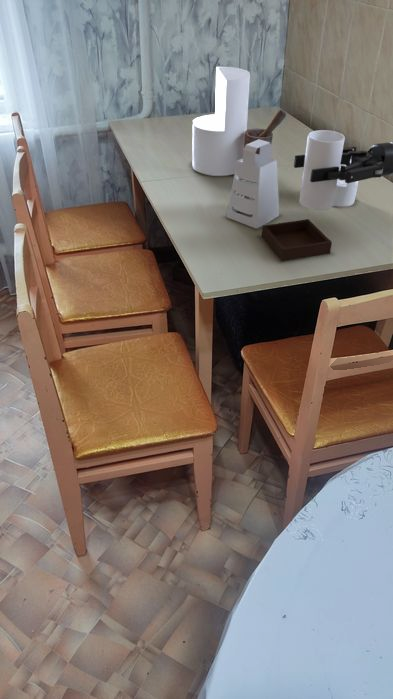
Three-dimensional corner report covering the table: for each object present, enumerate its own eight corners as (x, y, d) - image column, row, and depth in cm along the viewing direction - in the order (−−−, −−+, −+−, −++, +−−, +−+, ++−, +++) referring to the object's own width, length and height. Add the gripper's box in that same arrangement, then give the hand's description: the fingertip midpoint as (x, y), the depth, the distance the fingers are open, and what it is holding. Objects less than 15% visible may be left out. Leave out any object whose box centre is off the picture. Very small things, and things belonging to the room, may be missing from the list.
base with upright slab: (360, 203, 158) (369, 162, 150) (334, 208, 155) (341, 167, 147) (342, 191, 164) (350, 152, 156) (317, 196, 161) (323, 156, 154)
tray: (306, 230, 145) (308, 218, 142) (329, 253, 135) (332, 242, 133) (261, 236, 142) (262, 225, 140) (281, 261, 132) (282, 249, 130)
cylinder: (238, 155, 187) (243, 65, 169) (249, 174, 174) (255, 79, 156) (189, 157, 185) (188, 67, 167) (195, 177, 172) (196, 81, 154)
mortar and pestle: (272, 167, 179) (278, 103, 166) (282, 177, 172) (289, 111, 159) (238, 170, 176) (242, 106, 163) (247, 181, 170) (252, 114, 157)
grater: (226, 217, 150) (229, 144, 138) (248, 204, 157) (253, 134, 144) (256, 228, 145) (262, 154, 132) (279, 215, 151) (286, 143, 138)
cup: (295, 196, 135) (303, 130, 125) (327, 195, 136) (338, 129, 126) (303, 210, 129) (313, 142, 119) (337, 209, 130) (349, 141, 119)
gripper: (410, 191, 125) (321, 202, 120) (363, 159, 141) (283, 168, 136) (419, 158, 121) (326, 169, 115) (369, 129, 136) (286, 137, 131)
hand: (303, 168), depth 126 cm, fingers closed on cup, 8 cm apart
